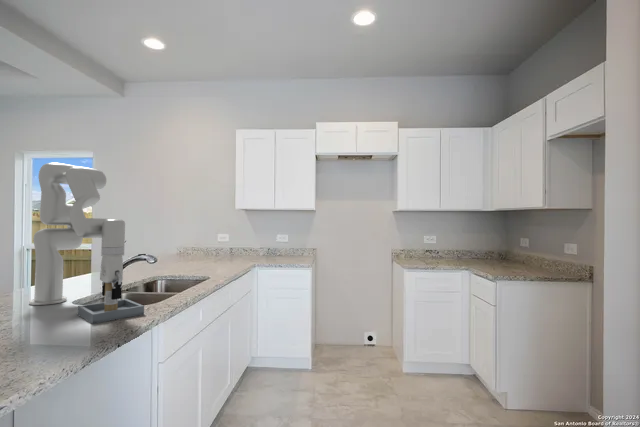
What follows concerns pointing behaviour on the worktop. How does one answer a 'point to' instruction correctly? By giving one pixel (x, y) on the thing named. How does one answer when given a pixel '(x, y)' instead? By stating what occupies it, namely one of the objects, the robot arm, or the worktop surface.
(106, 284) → the sprinkles bottle
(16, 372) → the worktop surface
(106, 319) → the tray
